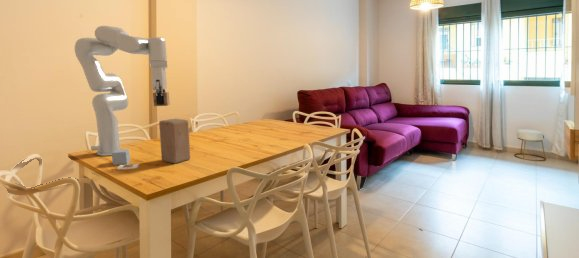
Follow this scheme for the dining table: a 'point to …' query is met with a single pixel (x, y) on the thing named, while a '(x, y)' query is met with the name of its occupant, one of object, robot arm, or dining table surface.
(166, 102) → the walnut cube
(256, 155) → the dining table surface
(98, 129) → the robot arm
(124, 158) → the slate-grey cube
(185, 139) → the wooden block
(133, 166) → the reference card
